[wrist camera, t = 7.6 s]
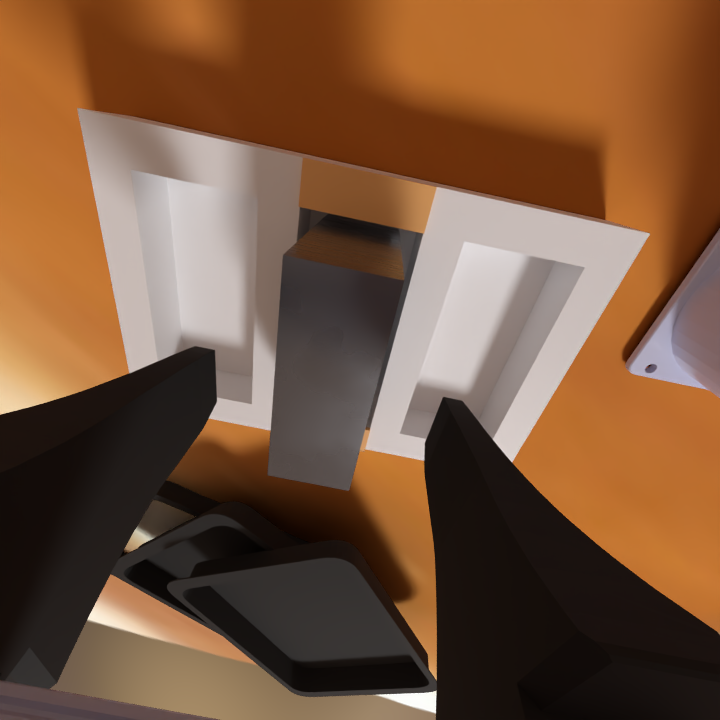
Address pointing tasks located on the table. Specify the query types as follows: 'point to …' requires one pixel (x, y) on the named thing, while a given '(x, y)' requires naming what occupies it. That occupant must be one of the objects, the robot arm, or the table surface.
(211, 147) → the tray
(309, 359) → the panel
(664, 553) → the table surface
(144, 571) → the tray
